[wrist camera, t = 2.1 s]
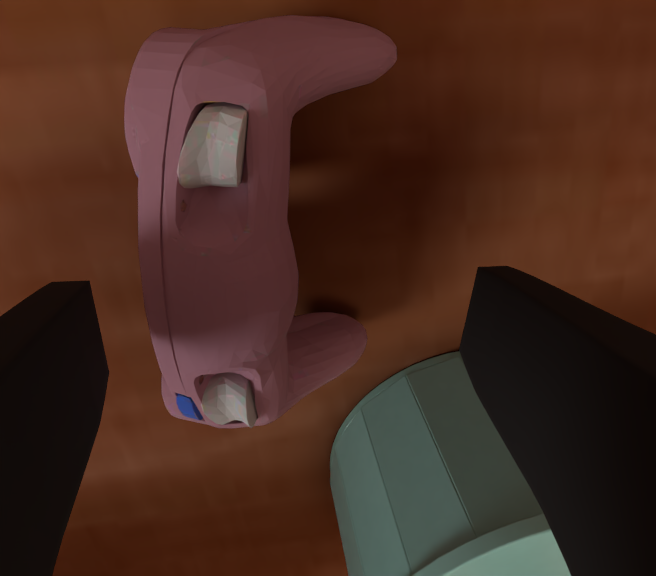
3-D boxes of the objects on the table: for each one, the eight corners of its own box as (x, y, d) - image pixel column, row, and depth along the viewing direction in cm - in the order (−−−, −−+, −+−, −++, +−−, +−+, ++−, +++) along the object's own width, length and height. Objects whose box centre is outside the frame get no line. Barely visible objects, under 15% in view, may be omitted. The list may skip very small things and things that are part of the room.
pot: (365, 550, 25) (407, 729, 19) (294, 404, 19) (324, 593, 13) (573, 480, 24) (680, 638, 19) (563, 311, 19) (713, 461, 13)
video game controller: (235, 3, 13) (26, 15, 8) (409, 15, 12) (317, 39, 7) (248, 317, 19) (127, 466, 13) (372, 345, 17) (301, 521, 12)
